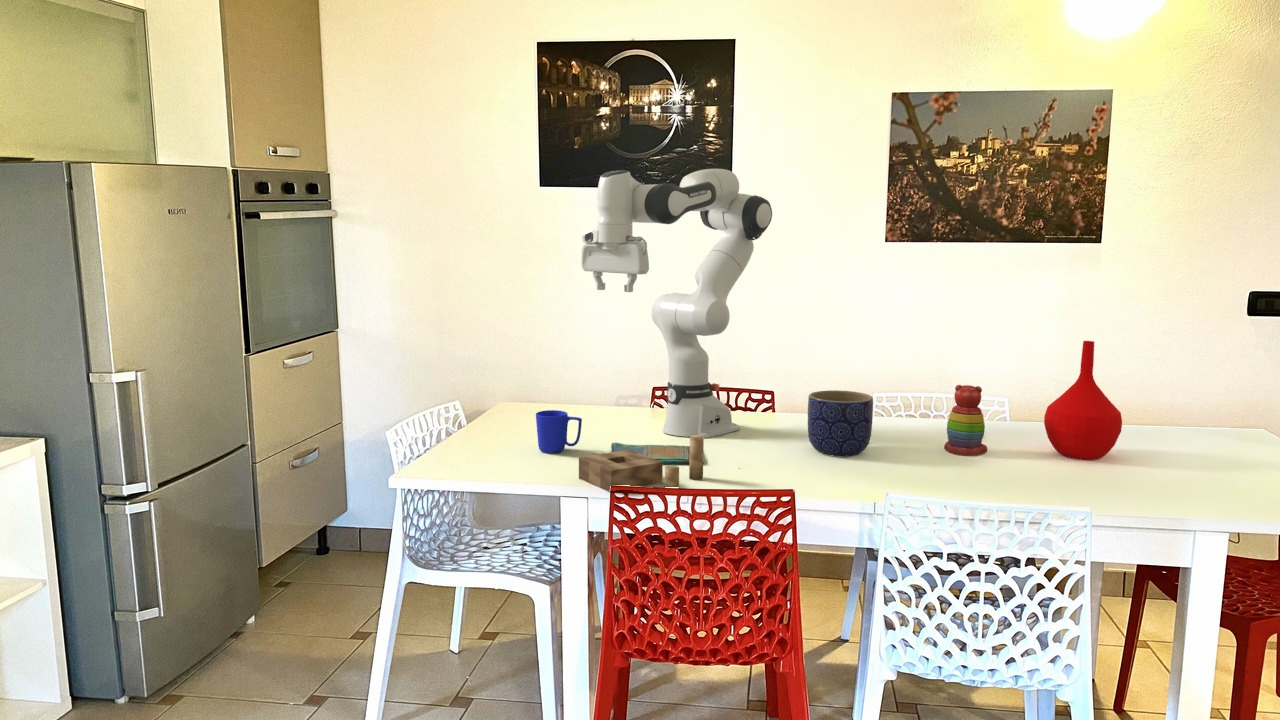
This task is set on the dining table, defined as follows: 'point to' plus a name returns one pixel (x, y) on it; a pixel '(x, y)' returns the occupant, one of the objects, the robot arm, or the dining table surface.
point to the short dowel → (671, 476)
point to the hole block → (620, 469)
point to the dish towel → (659, 452)
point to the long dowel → (696, 457)
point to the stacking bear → (966, 423)
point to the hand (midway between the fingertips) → (614, 290)
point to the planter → (840, 422)
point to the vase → (1083, 416)
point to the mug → (554, 430)
